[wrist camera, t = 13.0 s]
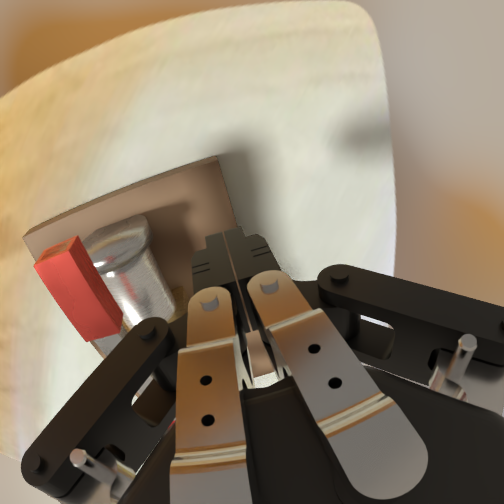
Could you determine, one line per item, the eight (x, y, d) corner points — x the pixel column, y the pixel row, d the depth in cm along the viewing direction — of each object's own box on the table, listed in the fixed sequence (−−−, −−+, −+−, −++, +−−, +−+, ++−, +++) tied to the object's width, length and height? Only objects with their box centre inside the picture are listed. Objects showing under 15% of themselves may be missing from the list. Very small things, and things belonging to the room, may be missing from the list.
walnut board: (277, 359, 35) (280, 369, 33) (144, 394, 34) (144, 404, 32) (215, 155, 22) (217, 159, 21) (29, 229, 21) (22, 237, 20)
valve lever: (192, 401, 20) (194, 418, 19) (158, 408, 20) (158, 425, 19) (83, 232, 13) (73, 248, 11) (40, 251, 13) (29, 268, 11)
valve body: (227, 371, 33) (241, 437, 25) (180, 383, 32) (186, 449, 25) (150, 206, 22) (135, 270, 15) (86, 230, 22) (51, 299, 14)
